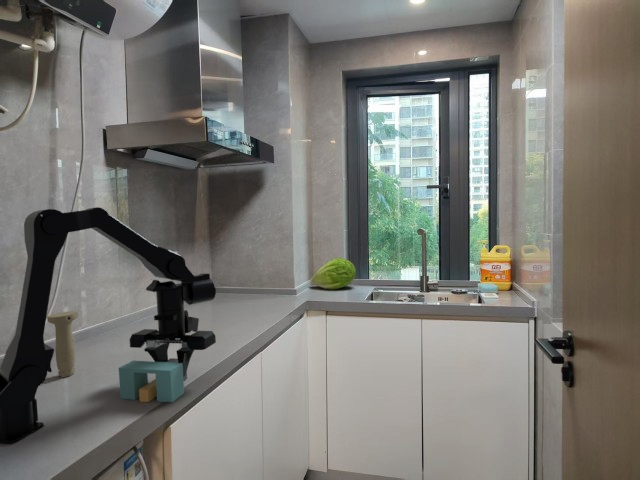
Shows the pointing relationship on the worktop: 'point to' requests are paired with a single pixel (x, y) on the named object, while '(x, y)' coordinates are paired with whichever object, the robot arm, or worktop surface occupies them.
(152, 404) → the worktop surface
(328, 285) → the lettuce
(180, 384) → the housing
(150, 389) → the plug
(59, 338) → the handle
